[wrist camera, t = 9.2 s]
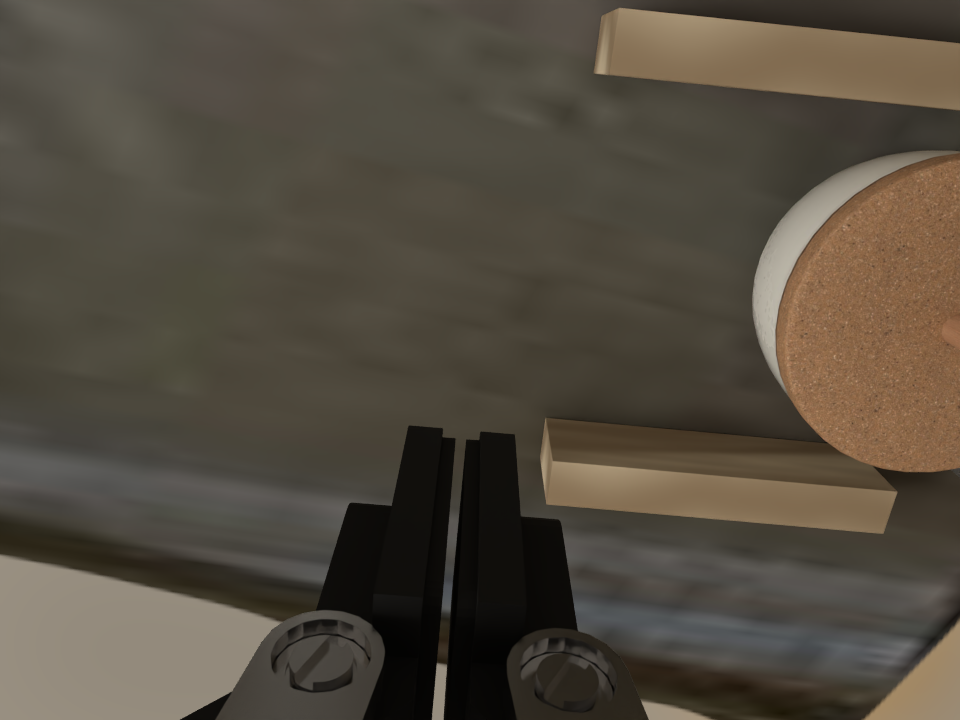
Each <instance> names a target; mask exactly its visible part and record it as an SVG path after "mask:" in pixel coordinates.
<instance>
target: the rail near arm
mask: <svg viewBox="0 0 960 720" xmlns="http://www.w3.org/2000/svg"><path fill="white" fill-rule="evenodd" d="M594 74H603V75H613V76H623V77H633V78H643V79H652V80H662V81H672V82H682V83H692V84H701V85H711V86H721V87H731V88H741V89H751V90H760V91H770V92H780V93H790V94H800V95H809V96H819V97H829V98H839V99H849V100H859V101H868V102H878V103H888V104H898V105H908V106H917V107H927V108H937V109H947V110H957V111H960V43H951V42H941V41H932V40H922V39H913V38H903V37H893V36H884V35H874V34H865V33H855V32H845V31H836V30H826V29H817V28H807V27H797V26H788V25H778V24H769V23H759V22H749V21H740V20H730V19H720V18H711V17H701V16H692V15H682V14H672V13H663V12H653V11H644V10H634V9H624V8H618V9H616V10H614V11H612V12H609V13H607V14H605V15H603V16H602V18H601V25H600V32H599V40H598V47H597V54H596V61H595V68H594Z"/></svg>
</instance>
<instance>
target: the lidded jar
mask: <svg viewBox="0 0 960 720" xmlns="http://www.w3.org/2000/svg"><path fill="white" fill-rule="evenodd" d="M752 303H753V319H754V323H755V328H756V333H757V337H758V341H759V344H760V347H761V349H762V352H763V354H764V357H765V359H766V361H767V363H768V365H769V367H770V369H771V371H772V373H773V374H774V376H775V377H776V379H777V381H778V382H779V384H780V385H781V387H782V388H783V390H784V391H785V392H786V394H787V395H788V396H789V397H790V399H791V400H792V402H793V404H794V405H795V407H796V408H797V410H798V411H799V413H800V415H801V416H802V417H803V418H804V420H805V421H806V422H807V423H808V424H809V425H810V426H811V427H812V428H813V429H814V430H815V431H816V432H817V433H818V434H819V436H820V437H821V438H822V439H823V440H825V441H826V442H828V443H829V444H830V445H832V446H833V447H834V448H836V449H837V450H838V451H840V452H841V453H843V454H845V455H847V456H850V457H852V458H854V459H856V460H858V461H860V462H862V463H866V464H869V465H872V466H875V467H879V468H882V469H888V470H895V471H902V472H936V471H943V470H950V469H957V468H960V151H911V152H905V153H899V154H892V155H887V156H883V157H879V158H875V159H872V160H869V161H865V162H862V163H859V164H856V165H853V166H851V167H849V168H847V169H845V170H843V171H841V172H839V173H836V174H834V175H832V176H831V177H829V178H828V179H826V180H825V181H823V182H822V183H820V184H819V185H817V186H816V187H814V188H813V189H812V190H810V191H809V192H808V193H807V194H806V195H805V196H804V197H802V198H801V199H800V200H799V201H798V202H797V203H796V204H794V205H793V207H792V208H791V209H790V210H789V211H788V212H787V214H786V215H785V216H784V217H783V218H782V219H781V220H780V222H779V224H778V225H777V227H776V228H775V230H774V231H773V233H772V234H771V236H770V237H769V240H768V242H767V244H766V246H765V248H764V250H763V252H762V255H761V258H760V261H759V264H758V268H757V271H756V275H755V280H754V288H753V295H752Z"/></svg>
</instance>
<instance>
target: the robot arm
mask: <svg viewBox="0 0 960 720" xmlns="http://www.w3.org/2000/svg"><path fill="white" fill-rule="evenodd" d="M442 435H443V428H432V427H420V426H409V427H408V431H407V436H406V441H405V445H404V450H403V455H402V460H401V464H400V469H399V474H398V479H397V484H396V488H395V493H394V498H393V503H392V506H386V505H374V504H362V503H350V504H349V505H348V508H347V511H346V514H345V517H344V521H343V524H342V527H341V530H340V534H339V537H338V540H337V544H336V547H335V550H334V553H333V557H332V560H331V563H330V567H329V570H328V573H327V576H326V580H325V583H324V586H323V590H322V593H321V596H320V599H319V603H318V606H317V609H316V611H314V612H307V613H303V614H300V615H298V616H295V617H292V618H289V619H287V620H286V621H284V622H283V623H281V624H280V625H278V626H277V627H275V628H274V629H272V630H271V632H270V633H269V634H268V635H267V636H266V638H265V639H264V640H263V641H262V642H261V644H260V646H259V647H258V649H257V651H256V652H255V654H254V656H253V657H252V659H251V661H250V663H249V664H248V666H247V668H246V669H245V671H244V673H243V674H242V676H241V678H240V680H239V681H238V683H237V684H236V686H235V688H234V689H233V691H232V692H230V693H229V694H227V695H225V696H223V697H221V698H219V699H217V700H216V701H214V702H212V703H210V704H208V705H206V706H204V707H203V708H201V709H199V710H197V711H195V712H193V713H192V714H190V715H188V716H186V717H184V718H182V719H180V720H432V709H433V699H434V687H435V676H436V665H437V654H438V642H439V631H440V620H441V608H442V597H443V585H444V573H445V560H446V548H447V536H448V524H449V512H450V499H451V487H452V475H453V463H454V451H455V438H444V437H442ZM444 720H649V719H648V717H647V714H646V712H645V710H644V707H643V705H642V702H641V700H640V698H639V695H638V693H637V690H636V688H635V685H634V683H633V681H632V678H631V676H630V673H629V671H628V669H627V667H626V666H625V664H624V663H623V661H622V659H621V658H620V656H619V655H618V654H617V653H616V652H614V651H613V650H612V649H611V648H610V647H609V646H608V645H607V644H605V643H604V642H602V641H600V640H598V639H597V638H595V637H593V636H591V635H589V634H586V633H582V632H579V631H578V629H577V623H576V616H575V610H574V603H573V597H572V590H571V584H570V577H569V571H568V565H567V558H566V552H565V545H564V539H563V532H562V526H561V522H560V521H559V520H558V519H546V518H533V517H521V514H520V500H519V486H518V472H517V458H516V443H515V435H514V434H503V433H491V432H480V439H479V440H467V439H466V448H465V459H464V469H463V480H462V491H461V501H460V512H459V522H458V533H457V544H456V554H455V565H454V575H453V587H452V600H451V615H450V630H449V645H448V661H447V677H446V691H445V706H444Z"/></svg>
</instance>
